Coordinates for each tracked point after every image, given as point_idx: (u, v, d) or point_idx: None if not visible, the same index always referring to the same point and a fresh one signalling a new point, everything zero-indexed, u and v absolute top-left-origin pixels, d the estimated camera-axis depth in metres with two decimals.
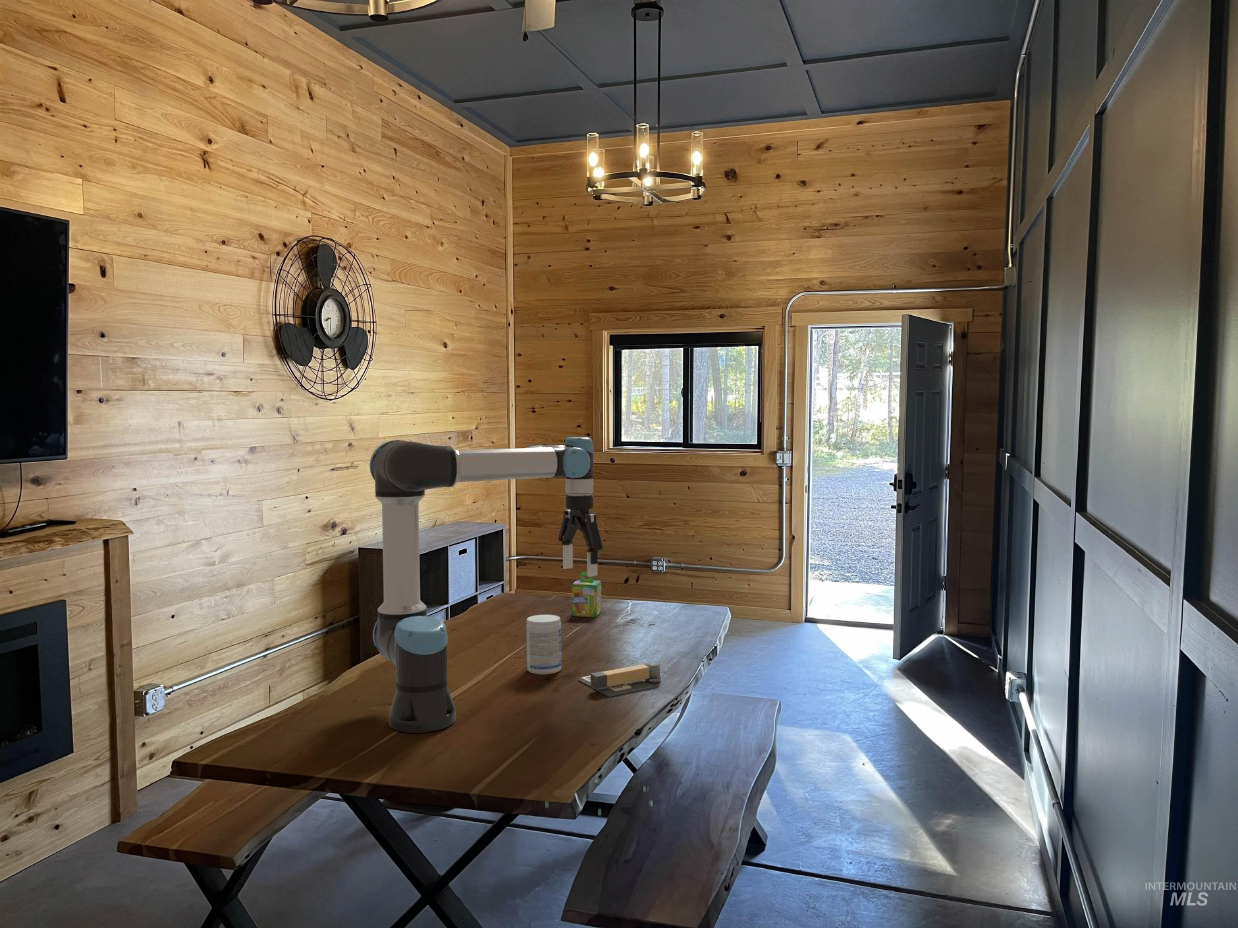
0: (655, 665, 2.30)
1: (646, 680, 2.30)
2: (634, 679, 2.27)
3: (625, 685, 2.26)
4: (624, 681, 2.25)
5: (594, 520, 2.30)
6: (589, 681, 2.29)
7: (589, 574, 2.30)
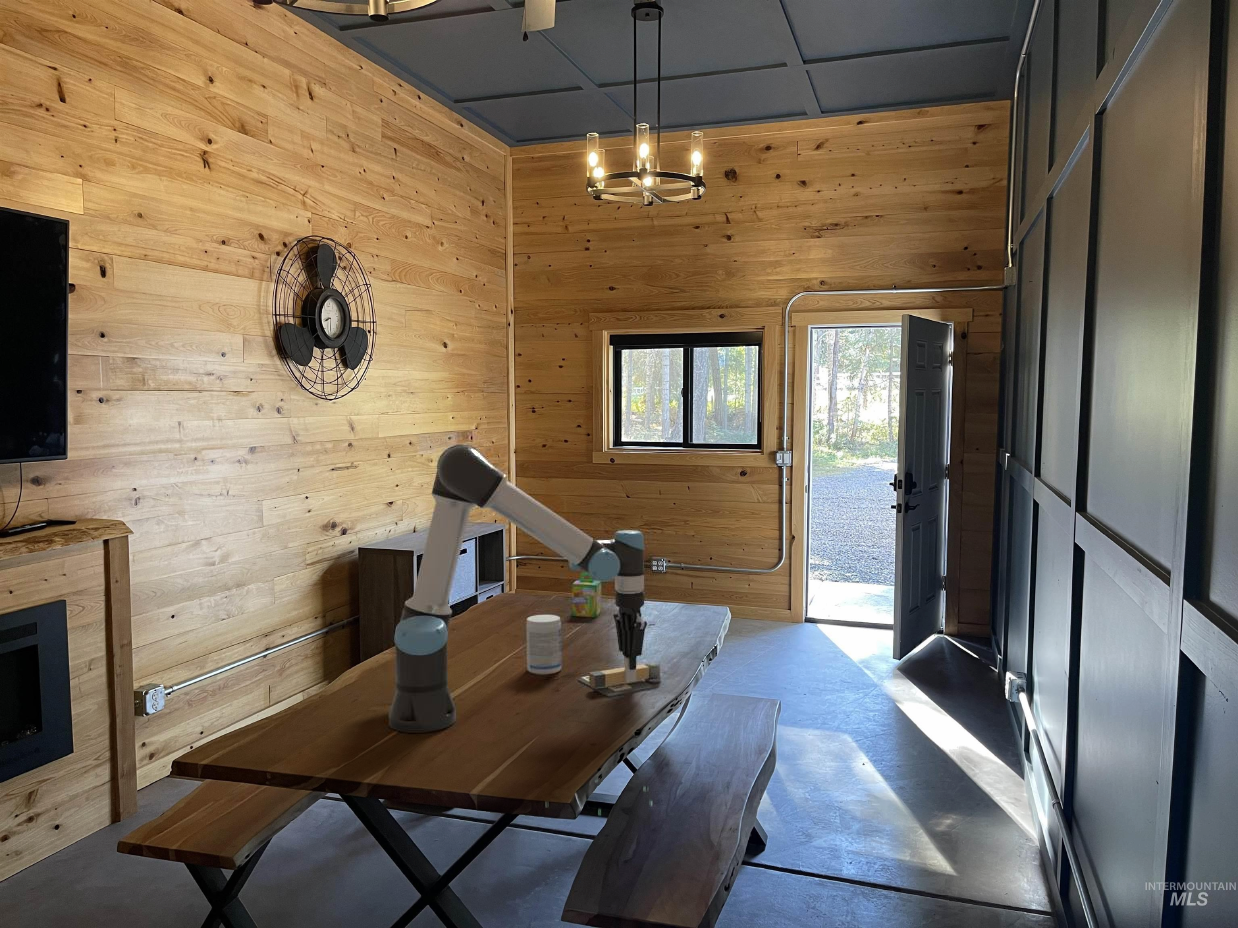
0: (655, 665, 2.30)
1: (646, 680, 2.30)
2: None
3: (625, 685, 2.26)
4: (623, 681, 2.25)
5: (643, 628, 2.20)
6: None
7: (628, 680, 2.24)
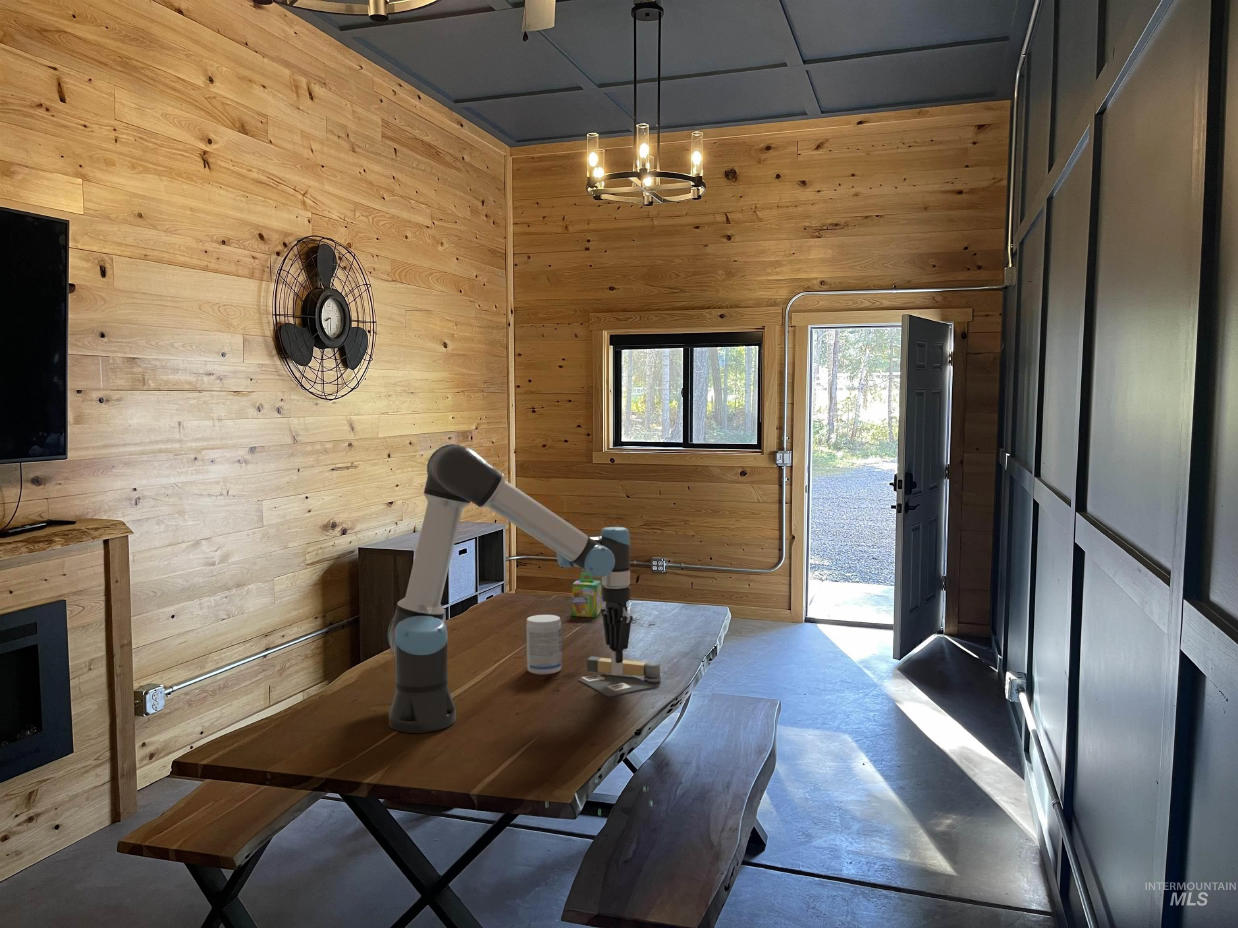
0: (651, 665, 2.30)
1: (646, 680, 2.30)
2: (627, 673, 2.32)
3: (625, 685, 2.26)
4: None
5: (629, 622, 2.26)
6: (589, 681, 2.29)
7: (614, 673, 2.30)
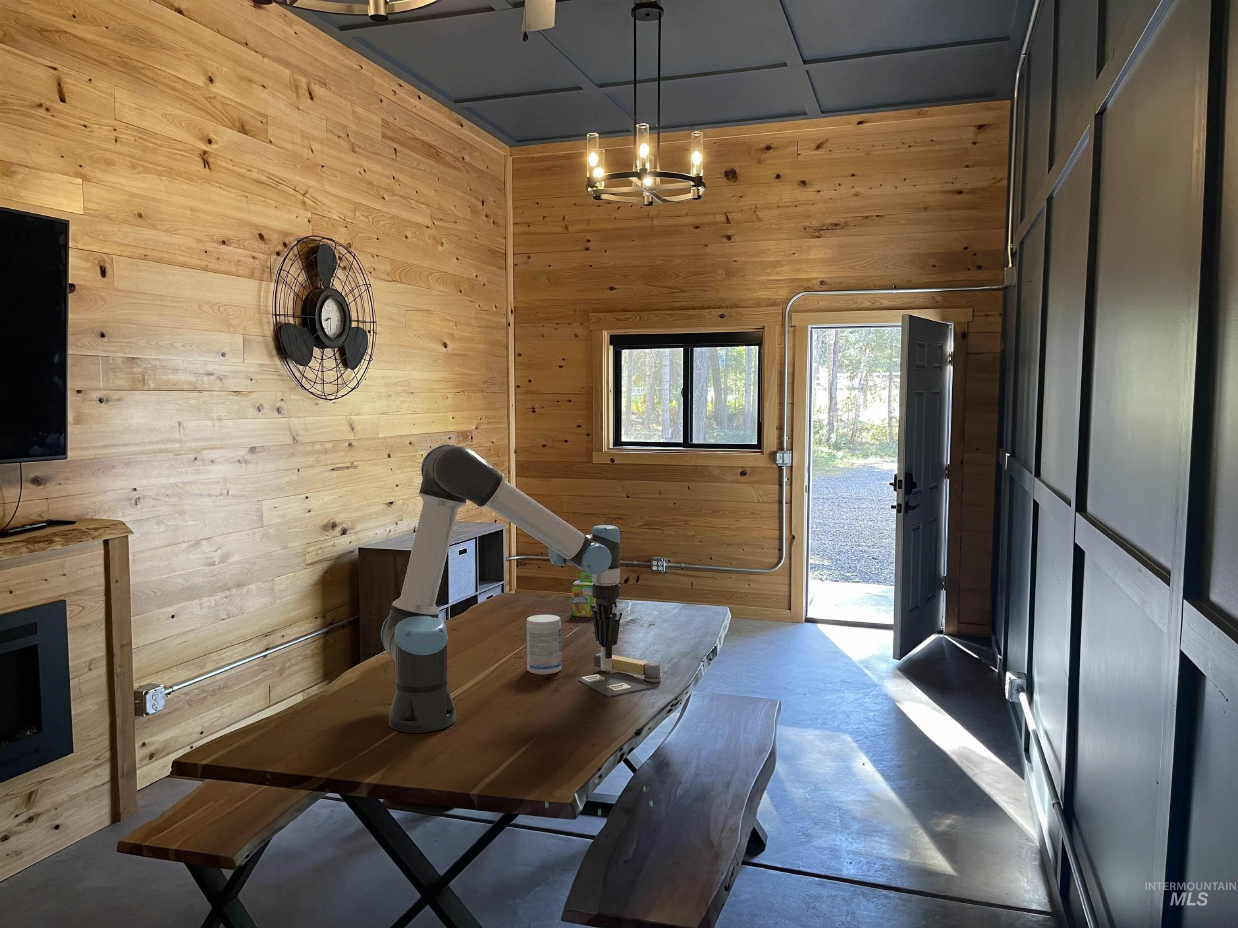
0: (649, 665, 2.30)
1: (646, 680, 2.30)
2: (628, 671, 2.34)
3: (625, 685, 2.26)
4: (619, 669, 2.36)
5: (618, 618, 2.31)
6: (589, 681, 2.29)
7: (604, 668, 2.35)
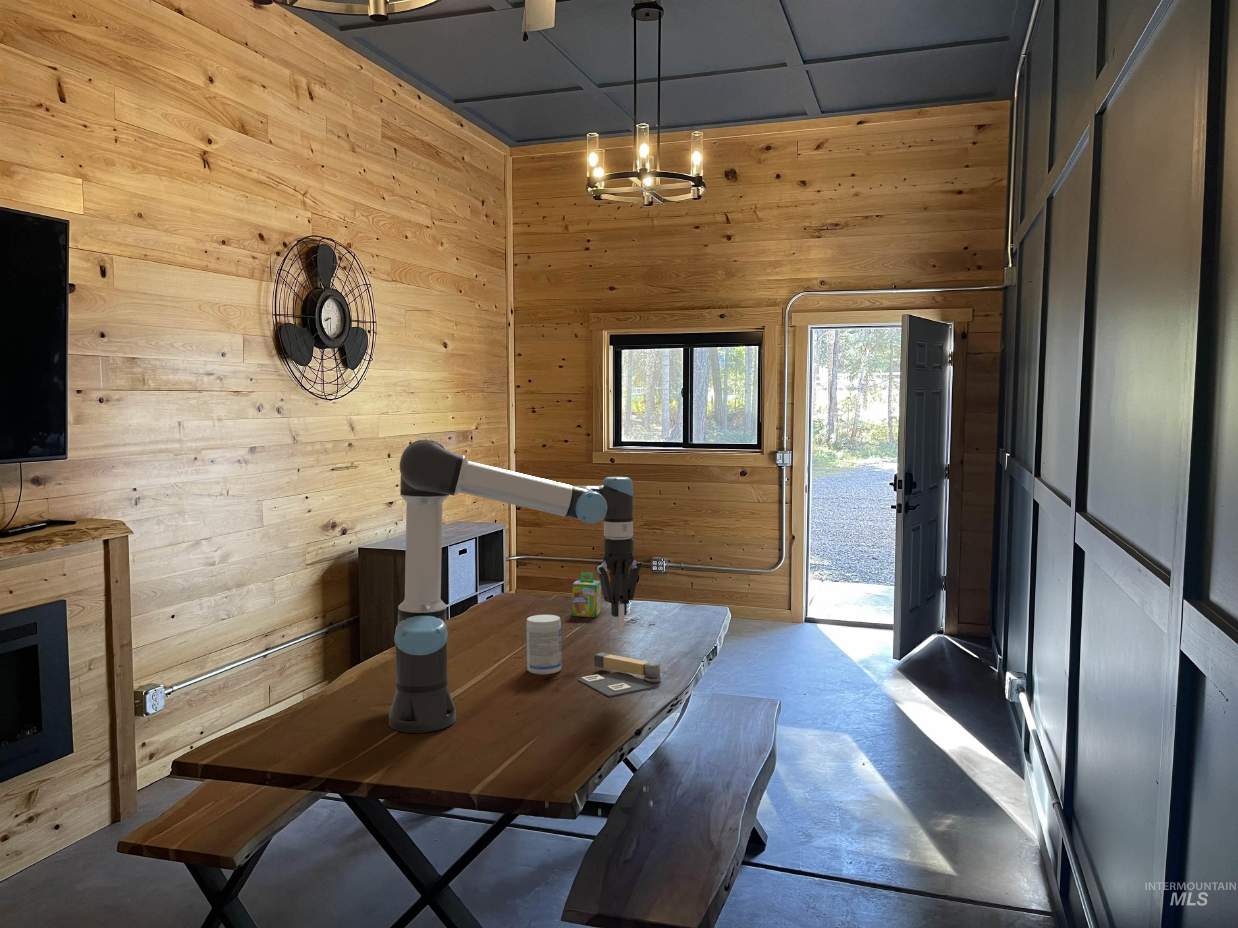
0: (649, 665, 2.30)
1: (646, 680, 2.30)
2: (628, 671, 2.34)
3: (625, 685, 2.26)
4: (619, 669, 2.36)
5: (601, 573, 2.20)
6: (589, 681, 2.29)
7: (614, 625, 2.25)
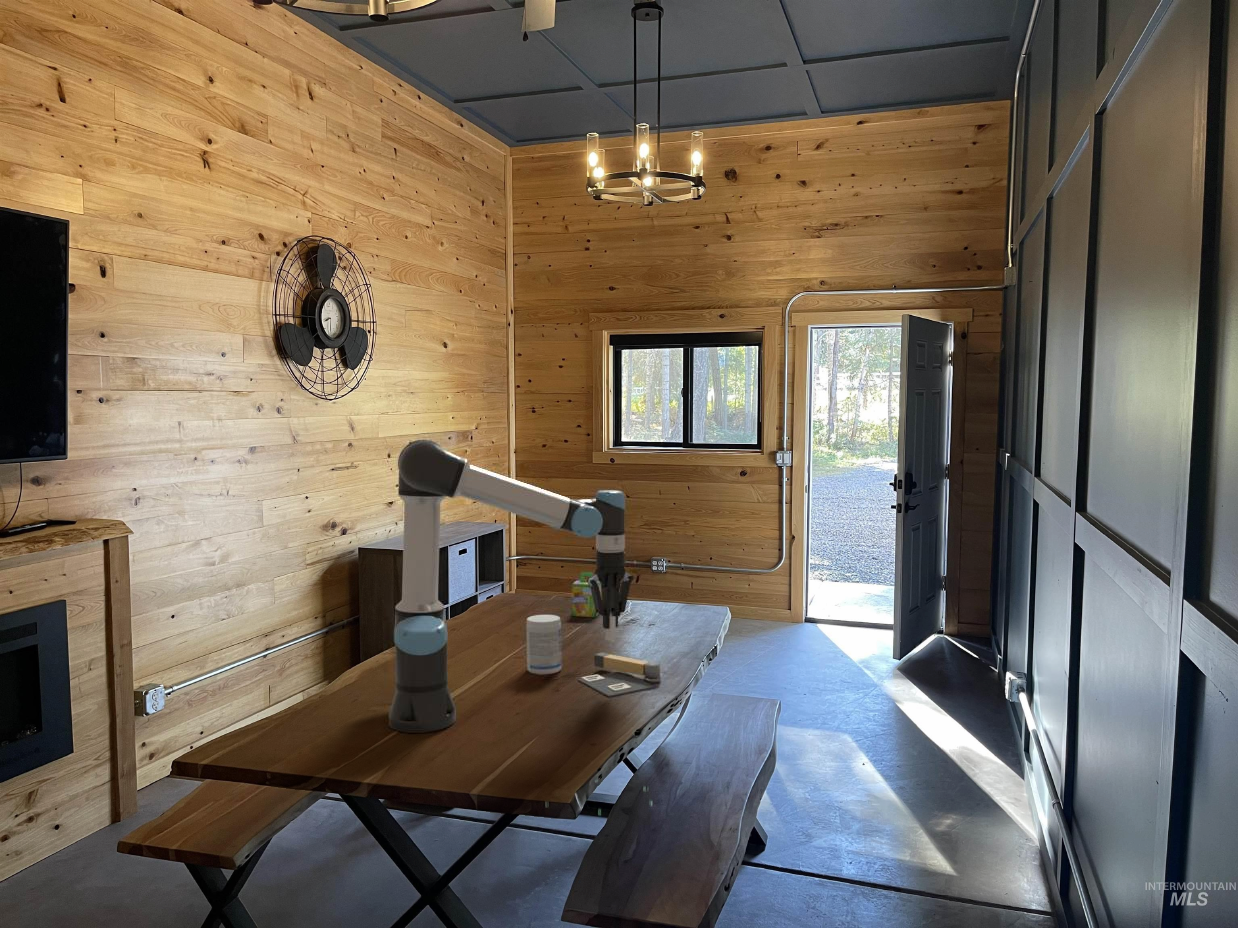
0: (649, 665, 2.30)
1: (646, 680, 2.30)
2: (628, 671, 2.34)
3: (625, 685, 2.26)
4: (619, 669, 2.36)
5: (592, 586, 2.22)
6: (589, 681, 2.29)
7: (606, 637, 2.27)
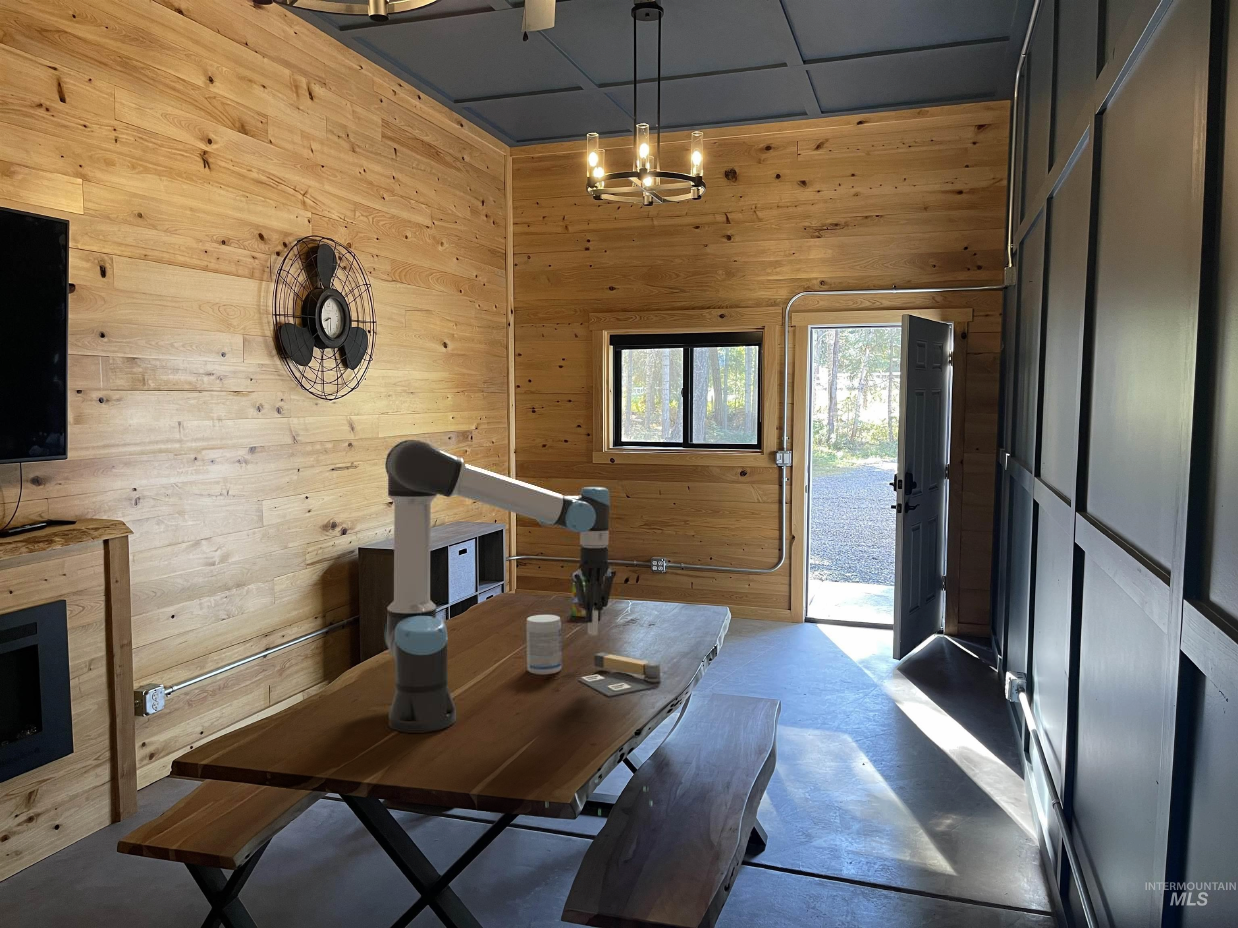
0: (649, 665, 2.30)
1: (646, 680, 2.30)
2: (628, 671, 2.34)
3: (625, 685, 2.26)
4: (619, 669, 2.36)
5: (576, 580, 2.27)
6: (589, 681, 2.29)
7: (588, 631, 2.32)
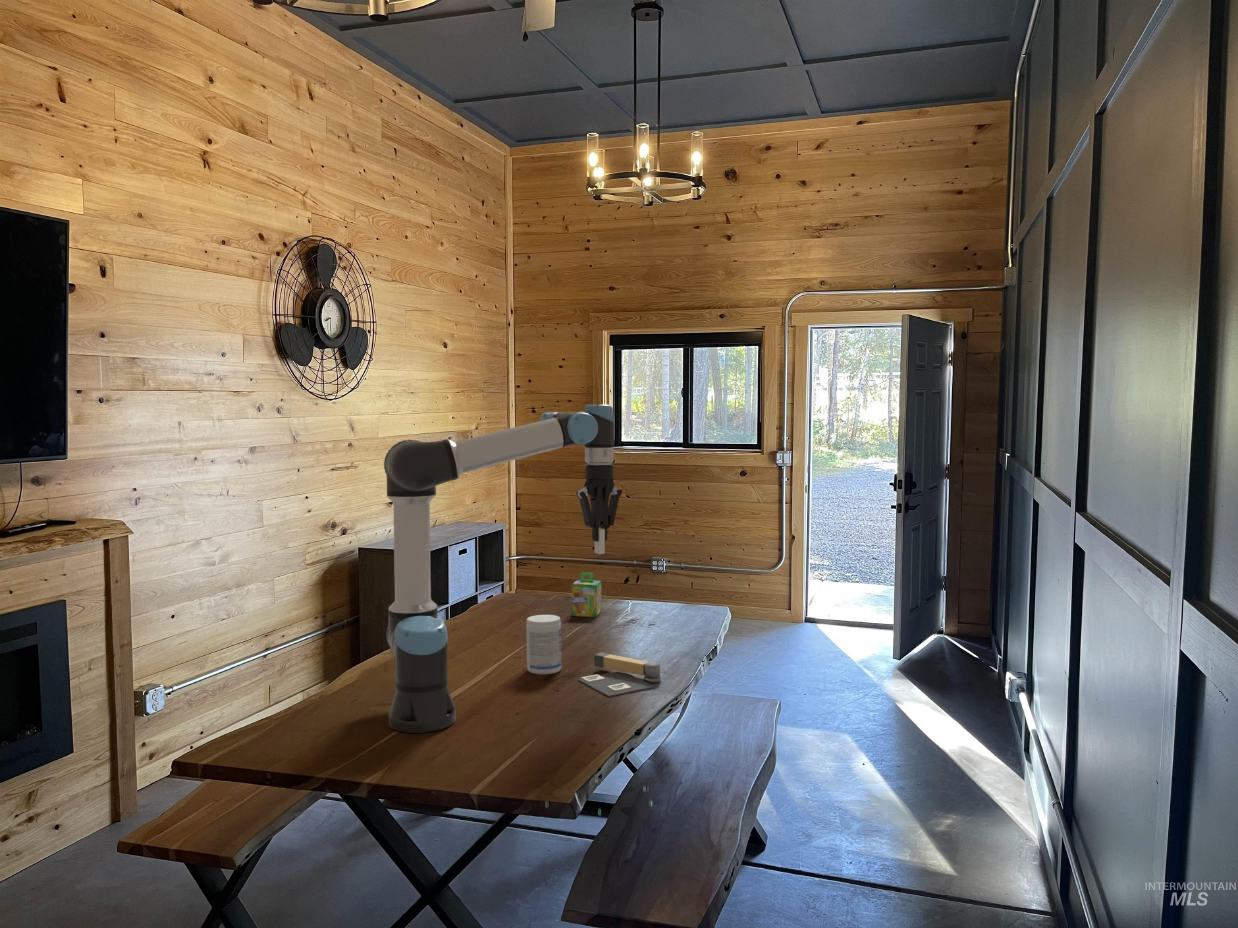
0: (649, 665, 2.30)
1: (646, 680, 2.30)
2: (628, 671, 2.34)
3: (625, 685, 2.26)
4: (619, 669, 2.36)
5: (582, 498, 2.25)
6: (589, 681, 2.29)
7: (595, 550, 2.30)
